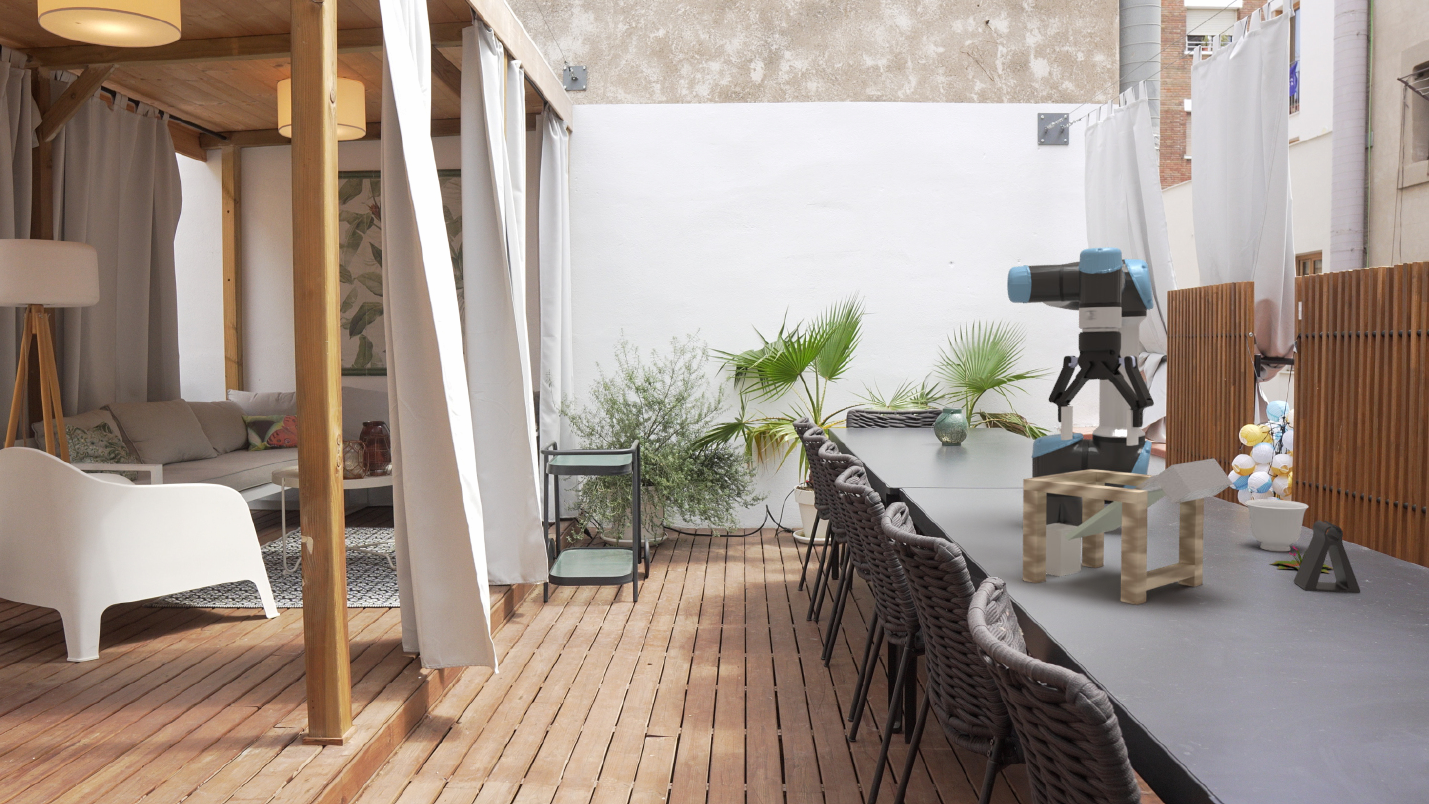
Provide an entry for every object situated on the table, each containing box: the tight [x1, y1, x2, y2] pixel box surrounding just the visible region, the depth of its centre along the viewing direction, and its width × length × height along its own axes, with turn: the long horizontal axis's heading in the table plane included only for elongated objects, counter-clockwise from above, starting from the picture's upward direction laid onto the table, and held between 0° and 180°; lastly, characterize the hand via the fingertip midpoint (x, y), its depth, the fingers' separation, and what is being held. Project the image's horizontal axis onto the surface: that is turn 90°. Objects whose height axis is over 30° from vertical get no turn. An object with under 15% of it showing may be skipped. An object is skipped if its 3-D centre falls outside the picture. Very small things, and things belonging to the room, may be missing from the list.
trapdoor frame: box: [1022, 469, 1205, 606], centre depth 184 cm, size 23×23×20 cm
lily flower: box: [1268, 545, 1333, 574], centre depth 195 cm, size 12×12×5 cm
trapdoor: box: [1065, 458, 1234, 540], centre depth 178 cm, size 25×16×6 cm
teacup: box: [1244, 498, 1309, 553], centre depth 214 cm, size 12×15×10 cm
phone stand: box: [1293, 519, 1361, 594], centre depth 178 cm, size 9×6×12 cm, turn 76°
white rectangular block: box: [1046, 523, 1082, 578], centre depth 193 cm, size 6×7×9 cm
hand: (1098, 442), depth 185 cm, fingers open, 13 cm apart
